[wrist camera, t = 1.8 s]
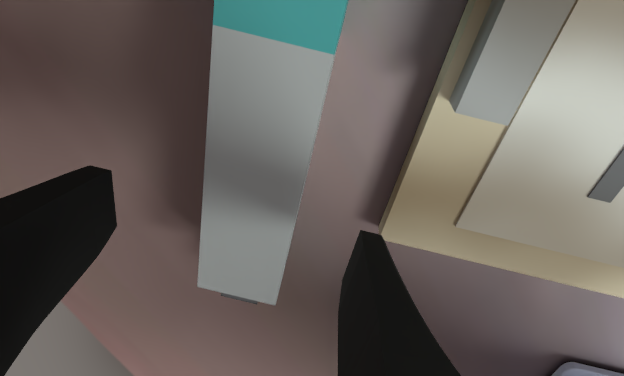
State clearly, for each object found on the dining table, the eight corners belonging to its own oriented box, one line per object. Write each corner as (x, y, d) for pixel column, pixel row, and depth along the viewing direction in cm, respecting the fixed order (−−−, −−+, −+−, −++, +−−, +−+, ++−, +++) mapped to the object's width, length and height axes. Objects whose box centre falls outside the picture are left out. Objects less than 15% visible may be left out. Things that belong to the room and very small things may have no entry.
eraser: (283, 274, 18) (270, 324, 16) (217, 259, 18) (196, 306, 16) (367, -80, 10) (367, -86, 8) (254, -108, 10) (221, -123, 8)
